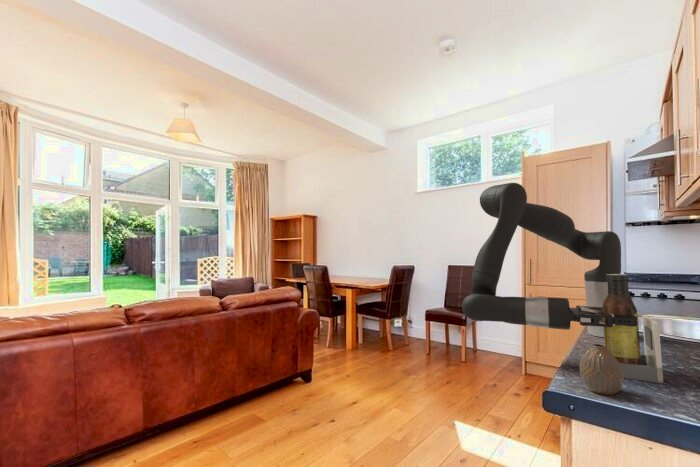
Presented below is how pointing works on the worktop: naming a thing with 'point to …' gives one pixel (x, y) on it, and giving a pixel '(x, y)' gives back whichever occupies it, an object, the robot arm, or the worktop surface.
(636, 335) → the sauce bottle
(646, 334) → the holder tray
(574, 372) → the worktop surface
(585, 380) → the vase
